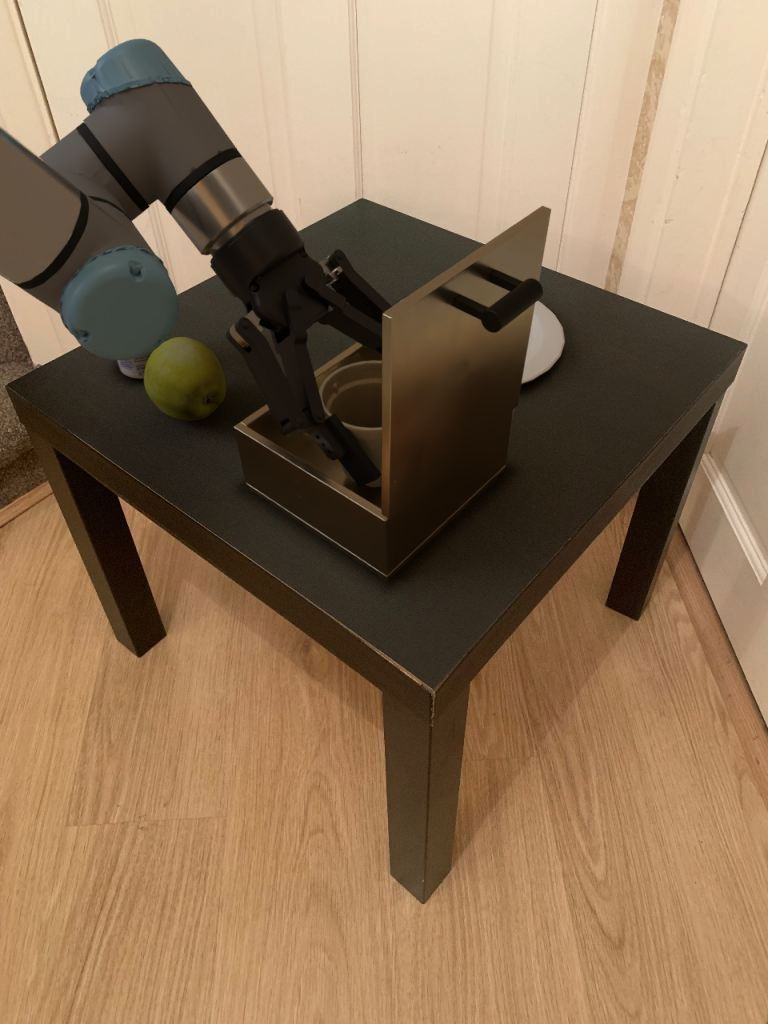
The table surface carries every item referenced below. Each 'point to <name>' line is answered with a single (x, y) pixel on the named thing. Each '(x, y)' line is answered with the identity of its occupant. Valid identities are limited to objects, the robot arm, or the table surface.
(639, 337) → the table surface
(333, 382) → the flower pot
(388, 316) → the lid
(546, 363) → the plate
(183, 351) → the apple
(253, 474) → the bronze square open box
